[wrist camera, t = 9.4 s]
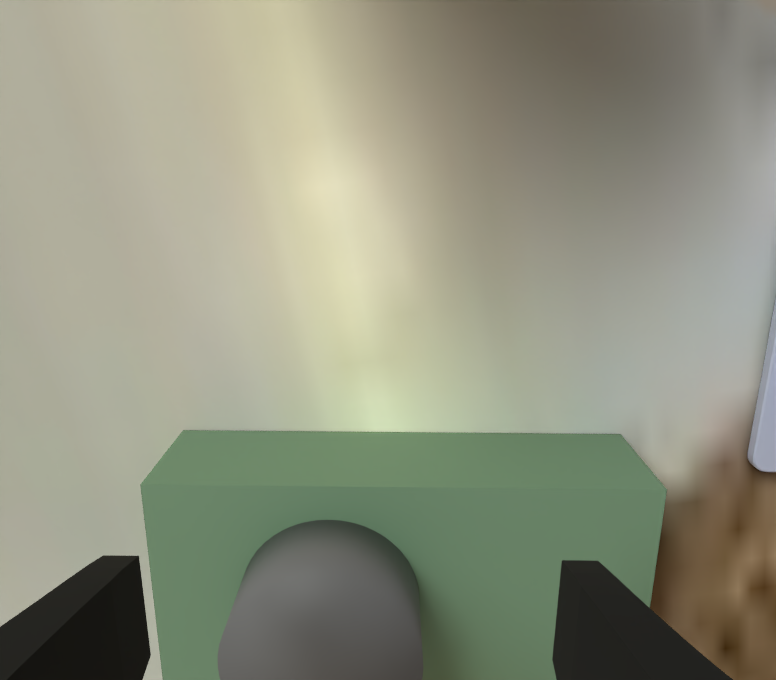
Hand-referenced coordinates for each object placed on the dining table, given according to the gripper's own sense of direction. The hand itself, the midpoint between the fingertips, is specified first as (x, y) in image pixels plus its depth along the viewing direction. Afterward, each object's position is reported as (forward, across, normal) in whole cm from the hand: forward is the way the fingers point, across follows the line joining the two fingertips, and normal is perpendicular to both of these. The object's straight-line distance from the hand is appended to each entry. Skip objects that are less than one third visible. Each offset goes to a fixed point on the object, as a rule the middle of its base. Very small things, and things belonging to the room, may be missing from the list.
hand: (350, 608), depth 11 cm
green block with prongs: (+9, -1, +9) cm, 13 cm away
